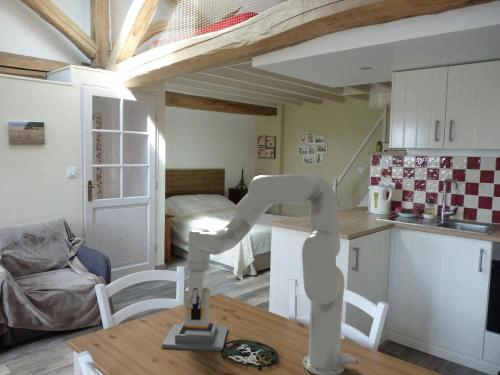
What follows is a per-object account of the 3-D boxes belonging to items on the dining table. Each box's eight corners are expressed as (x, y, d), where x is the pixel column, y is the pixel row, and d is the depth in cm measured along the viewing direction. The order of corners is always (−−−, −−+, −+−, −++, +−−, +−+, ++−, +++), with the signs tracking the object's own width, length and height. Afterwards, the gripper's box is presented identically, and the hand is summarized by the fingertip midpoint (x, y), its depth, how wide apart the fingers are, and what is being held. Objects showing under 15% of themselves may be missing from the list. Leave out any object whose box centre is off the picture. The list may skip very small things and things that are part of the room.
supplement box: (209, 323, 142) (210, 287, 141) (207, 329, 137) (208, 291, 136) (187, 322, 143) (187, 285, 142) (183, 327, 138) (184, 290, 137)
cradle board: (227, 329, 148) (227, 320, 148) (222, 351, 131) (222, 340, 131) (174, 327, 149) (174, 317, 149) (161, 347, 132) (162, 337, 132)
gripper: (192, 258, 147) (191, 307, 148) (182, 270, 130) (181, 325, 131) (212, 259, 147) (211, 308, 148) (205, 271, 130) (203, 326, 131)
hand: (197, 315), depth 140 cm, fingers closed on supplement box, 5 cm apart
